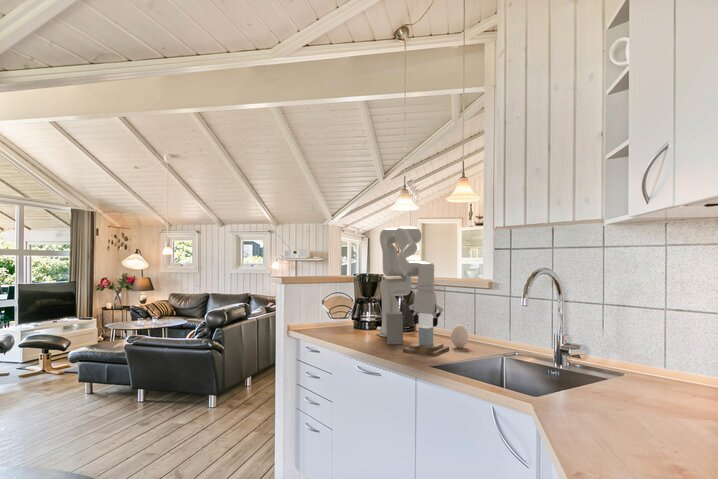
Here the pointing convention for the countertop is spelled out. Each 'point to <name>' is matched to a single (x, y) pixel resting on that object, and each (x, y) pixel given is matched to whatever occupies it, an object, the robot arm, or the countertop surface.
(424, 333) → the slate block
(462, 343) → the egg
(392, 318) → the skincare box
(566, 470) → the countertop surface
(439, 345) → the pedestal
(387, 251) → the robot arm
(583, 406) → the countertop surface
